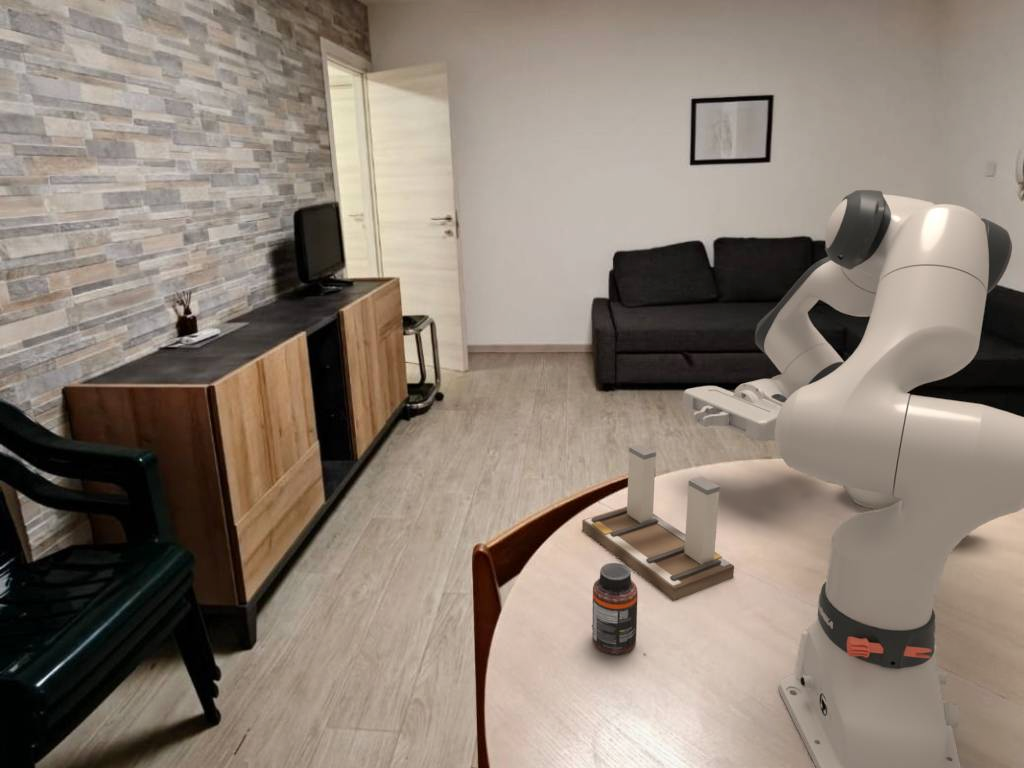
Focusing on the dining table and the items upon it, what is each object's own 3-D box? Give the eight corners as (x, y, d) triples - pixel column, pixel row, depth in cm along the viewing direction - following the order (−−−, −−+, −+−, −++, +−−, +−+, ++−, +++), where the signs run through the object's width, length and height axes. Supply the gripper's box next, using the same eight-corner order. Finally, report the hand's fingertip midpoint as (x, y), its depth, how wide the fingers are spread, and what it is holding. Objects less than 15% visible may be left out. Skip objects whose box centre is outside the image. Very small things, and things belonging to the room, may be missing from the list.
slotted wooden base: (733, 577, 113) (734, 562, 113) (673, 600, 108) (674, 585, 107) (636, 513, 133) (637, 500, 133) (582, 530, 128) (582, 517, 127)
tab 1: (652, 519, 127) (655, 452, 123) (641, 523, 125) (644, 455, 121) (638, 510, 130) (640, 444, 126) (627, 513, 129) (629, 447, 125)
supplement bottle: (609, 622, 103) (611, 552, 100) (644, 641, 99) (648, 569, 96) (583, 643, 99) (584, 571, 96) (618, 663, 95) (621, 588, 92)
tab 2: (713, 560, 114) (719, 486, 110) (701, 564, 113) (707, 490, 109) (696, 548, 117) (701, 476, 113) (684, 553, 116) (688, 480, 112)
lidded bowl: (913, 495, 138) (922, 441, 135) (905, 523, 128) (914, 466, 125) (842, 479, 145) (849, 428, 141) (829, 505, 135) (836, 450, 131)
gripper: (716, 374, 142) (660, 386, 136) (801, 405, 125) (742, 421, 119) (714, 404, 144) (659, 418, 138) (797, 439, 127) (739, 456, 121)
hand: (698, 420), depth 129 cm, fingers closed
